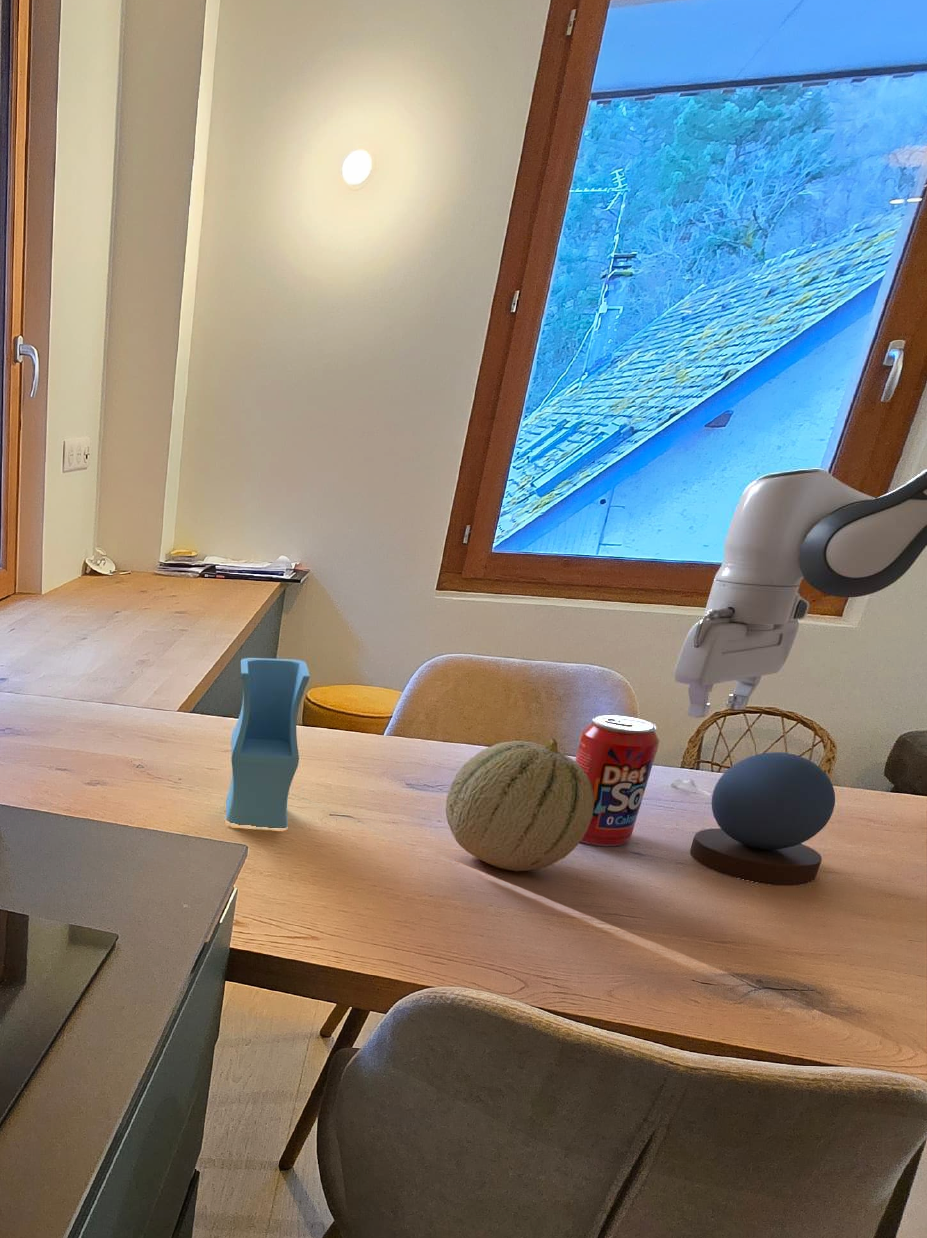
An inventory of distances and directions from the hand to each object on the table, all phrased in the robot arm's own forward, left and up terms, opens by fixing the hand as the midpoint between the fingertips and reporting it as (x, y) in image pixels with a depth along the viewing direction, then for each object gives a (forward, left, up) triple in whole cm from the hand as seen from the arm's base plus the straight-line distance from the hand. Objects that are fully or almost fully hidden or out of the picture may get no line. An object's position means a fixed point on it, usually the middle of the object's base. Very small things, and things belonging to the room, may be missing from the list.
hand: (716, 712), depth 135 cm
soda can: (-2, +26, -13) cm, 29 cm away
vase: (+23, +58, -13) cm, 63 cm away
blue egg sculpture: (-16, +18, -13) cm, 27 cm away
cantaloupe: (-2, +43, -13) cm, 45 cm away
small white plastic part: (0, 0, -13) cm, 13 cm away
